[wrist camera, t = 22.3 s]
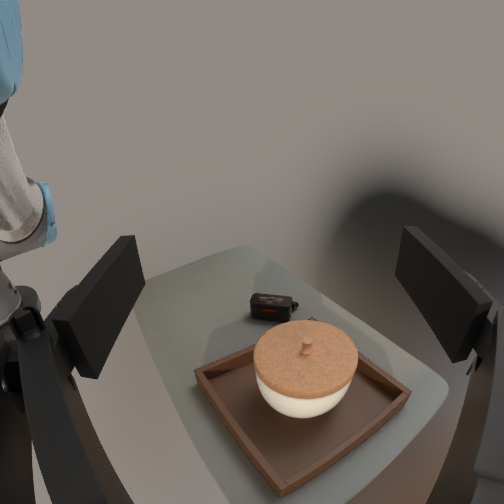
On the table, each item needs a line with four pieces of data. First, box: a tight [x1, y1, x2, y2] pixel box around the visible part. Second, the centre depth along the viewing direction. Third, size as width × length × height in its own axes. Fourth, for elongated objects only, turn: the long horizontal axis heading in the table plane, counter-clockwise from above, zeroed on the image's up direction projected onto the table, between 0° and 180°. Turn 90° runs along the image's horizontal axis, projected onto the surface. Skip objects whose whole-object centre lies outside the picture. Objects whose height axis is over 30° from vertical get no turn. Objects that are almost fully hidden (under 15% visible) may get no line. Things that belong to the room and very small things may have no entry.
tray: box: [194, 317, 412, 498], centre depth 32 cm, size 19×19×3 cm
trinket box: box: [253, 320, 358, 418], centre depth 30 cm, size 11×11×9 cm
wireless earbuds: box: [250, 293, 299, 322], centre depth 48 cm, size 5×7×3 cm, turn 75°
